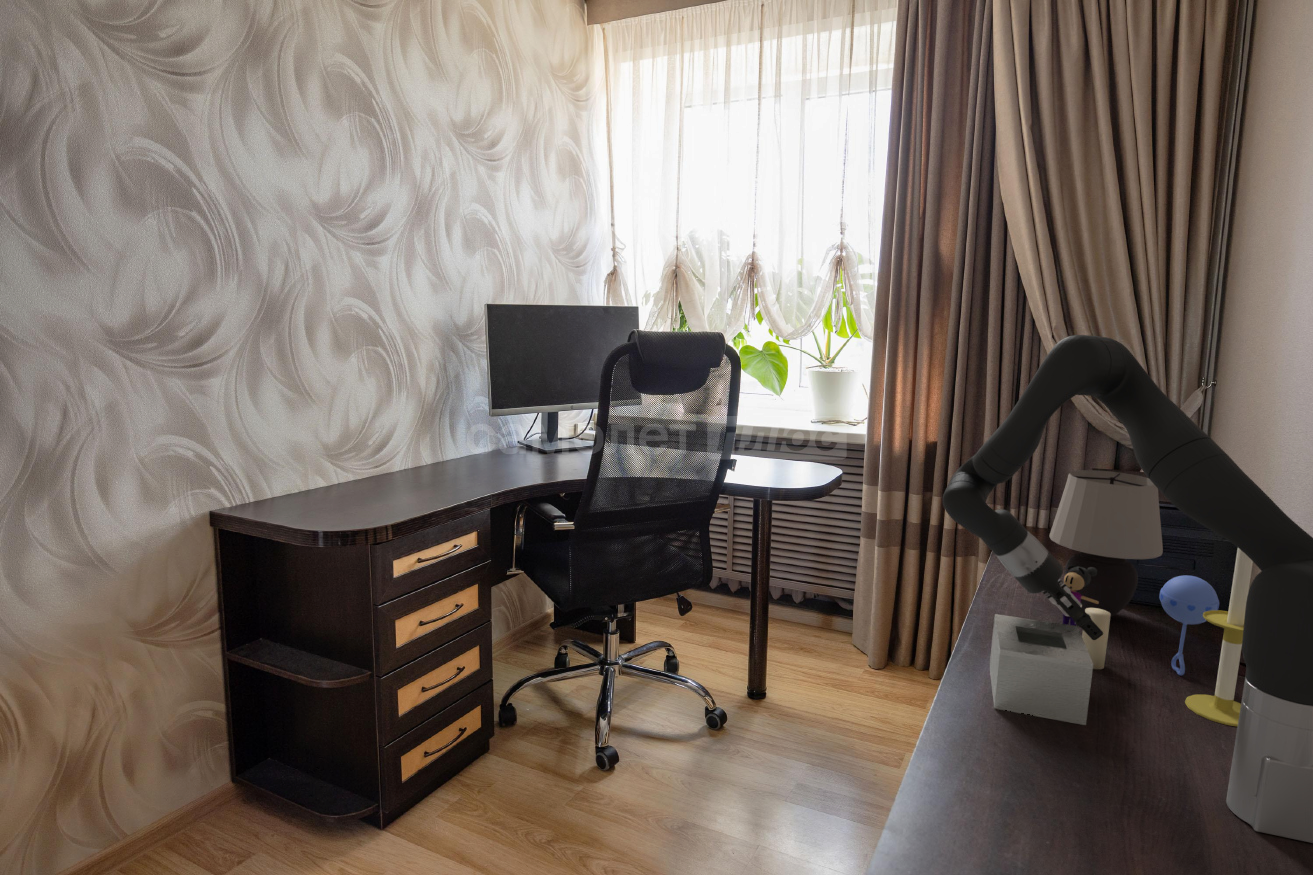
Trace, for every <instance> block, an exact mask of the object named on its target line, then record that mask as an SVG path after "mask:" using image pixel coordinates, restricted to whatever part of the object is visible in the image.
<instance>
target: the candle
mask: <svg viewBox="0 0 1313 875" xmlns="http://www.w3.org/2000/svg"><path fill="white" fill-rule="evenodd" d="M1253 563H1254V562H1253V561H1252V560H1251V559H1250V558H1249V557H1248V556H1247V555H1246V554H1245V553H1244V552H1243V551H1241V550H1240V549H1239V548H1238V547H1237V550H1236V556H1235V564H1234V572H1233V577H1232V585H1231V590H1230V592H1231V593H1230V596H1229V597H1230V599H1229V604H1228V605H1229V606H1228V611H1227V610H1219V609H1218V610H1210V611H1206V612H1204V614H1203V617H1204V619H1205V620H1206V622H1209V623H1210V624H1212V625H1214V626H1217V627H1220V628H1222V629H1223V637H1222V642H1221V650H1220V655H1219V665H1218V669H1217V677H1216V684H1215V690H1214V695H1210V694H1192V695H1189V696H1187V697H1186V699H1185V701H1184V703H1185V705H1186V706H1187V708H1188V709H1189V710H1191V711H1192V712H1194V713H1195V714H1196V715H1198V716H1200V717H1202V718H1204V719H1207V720H1209V721H1212V722H1215V723H1219V724H1222V725H1225V726H1231V727H1236V728H1237V727H1238V721H1239V714H1240V708H1241V703H1240V702H1238V701H1235V700H1234V699H1235V692H1236V686H1237V681H1238V673H1239V666H1240V659H1241V653H1242V640H1243V629H1244V619H1245V609H1246V601H1247V596H1248V592H1249V589H1250V585H1251V577H1252V570H1253Z"/></svg>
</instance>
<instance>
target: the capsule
mask: <svg viewBox="0 0 1313 875" xmlns="http://www.w3.org/2000/svg"><path fill="white" fill-rule="evenodd" d="M1085 612H1086V613H1088V614H1089V615H1090V616H1091V617H1090V618H1091V620H1092V621H1093V622H1094V623H1095V624H1096V625H1097V626H1098V627H1099V628H1100V629H1101V631H1102V632H1103V635H1102V636H1101V637H1099V638H1098V639H1096V640H1092V639H1091V638H1090V637H1089V636H1088V635H1087V633H1086V632H1085V631H1084V630H1083V629H1082V633H1081V636H1082V638H1083V641H1084V643H1085V645H1086V648H1087V650H1088V653H1089V655H1090V657H1091V660H1092V662H1093V670H1102V669H1104V668H1105V662H1106V656H1107V655H1106V653H1107V646H1108V639H1109V630H1110V623H1111V622H1110V621H1111V617H1110V616H1111V614H1110V613H1109V612H1108V611H1105V610H1102V609H1098V608H1086V609H1085Z"/></svg>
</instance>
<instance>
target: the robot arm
mask: <svg viewBox="0 0 1313 875" xmlns="http://www.w3.org/2000/svg"><path fill="white" fill-rule="evenodd" d="M1076 396H1091V397H1092V398H1095V399H1096V400H1098V402H1101V403H1102V404H1103V405H1104V406H1105V407H1106V408H1107V409H1108V410H1109V411H1110V412H1111V413H1112V414H1113V415H1114V416H1115V417H1116V418H1117V419H1118V420H1119V421H1120V423H1121V424H1122V425H1123V427H1124V428H1125V429H1126V432H1127V434H1128V436H1129V440H1130V443H1131V447H1132V450H1133V452H1134V455H1135V458H1136V461H1137V463H1138V465H1139V467H1140V469H1141V470H1142V472H1143V473H1144V474H1145V477H1146V478H1149V479H1150V480H1151V482H1152V483H1153V484H1154V485H1155V486H1156V487H1157V488H1158V491H1159V492H1161V494H1162V495H1163V496H1164V497H1165V498H1166V500H1168V501H1169V503H1171V504H1172V505H1173V506H1174V507H1175V508H1176V509H1177V510H1179V511H1180V512H1182V513H1183V514H1184V515H1186V516H1187V517H1188V518H1190V519H1192V520H1194V521H1195V522H1196V523H1199V524H1200V525H1202V526H1203V527H1205V528H1206V529H1208V530H1210V531H1212V532H1213V533H1215V534H1216V535H1218V536H1220V537H1222V538H1224V539H1225V540H1226V541H1228V542H1229V543H1231V544H1232V545H1234V546H1235V547H1236V548H1237V549H1238V548H1239V549H1240V550H1241V551H1243V552H1244V553H1245V554H1246V555H1247V556H1248V557H1249V558H1250V559H1251V560H1252V561H1253V563H1254V564H1255V566H1256V567H1257V568H1258V569H1259V570H1260V572H1259V573H1258V574H1256V576H1255V577H1254V579H1253V580H1252V582H1251V583H1250V585H1249V591H1248V596H1247V601H1246V609H1245V619H1244V629H1243V640H1242V648H1241V653H1242V658H1243V660H1244V662H1245V665H1246V670H1245V675H1244V676H1245V677H1244V684H1243V690H1242V697H1241V703H1240V704H1241V708H1240V714H1239V721H1238V727H1236V734H1235V741H1234V748H1233V753H1232V761H1231V765H1230V772H1229V779H1228V787H1227V793H1226V801H1225V802H1226V805H1227V807H1228V809H1229V810H1230V811H1231V812H1232V813H1233V814H1234V815H1236V816H1237V817H1238V818H1239V819H1240V820H1242V821H1244V822H1246V823H1247V824H1249V825H1250V826H1251V827H1252V829H1253V831H1255V832H1257V833H1264V834H1267V835H1268V834H1269V835H1272V836H1278V837H1282V838H1287V839H1293V840H1297V841H1301V842H1307V843H1311V844H1313V537H1312V535H1311V534H1309V533H1308V532H1307V531H1306V530H1305V529H1303V528H1302V527H1301V526H1300V525H1298V524H1297V523H1296V522H1295V521H1293V519H1292V518H1290V517H1289V516H1288V515H1287V514H1286V513H1285V512H1284V511H1283V510H1282V509H1281V507H1279V506H1278V505H1277V504H1276V503H1275V502H1274V501H1273V499H1272V498H1271V497H1270V496H1268V494H1266V493H1265V491H1264V490H1263V489H1262V488H1260V487H1259V486H1258V485H1257V483H1255V481H1254V480H1253V479H1251V477H1250V476H1248V475H1247V473H1246V472H1244V470H1243V469H1241V467H1239V465H1238V464H1237V463H1236V462H1235V461H1234V460H1233V458H1231V457H1230V456H1229V455H1228V453H1226V452H1225V450H1223V449H1222V448H1221V447H1220V446H1219V444H1218V443H1216V441H1215V440H1213V438H1211V437H1210V436H1209V435H1208V434H1207V433H1206V432H1205V431H1204V430H1203V429H1202V428H1201V427H1199V426H1198V425H1197V424H1196V423H1195V422H1194V421H1193V420H1192V419H1191V418H1190V416H1188V415H1187V414H1186V413H1185V412H1184V411H1183V410H1182V409H1181V408H1180V407H1179V406H1178V405H1177V404H1176V403H1175V402H1173V400H1172V399H1171V398H1169V397H1168V396H1167V395H1166V394H1165V393H1164V392H1163V390H1162V389H1160V387H1159V386H1158V385H1157V384H1156V382H1155V381H1154V380H1153V379H1152V377H1151V376H1150V375H1149V373H1147V371H1146V370H1145V369H1144V367H1143V366H1142V365H1141V364H1140V362H1139V361H1138V359H1137V358H1136V357H1135V355H1133V353H1132V351H1130V350H1129V349H1128V348H1127V347H1126V346H1125V345H1124V344H1123V343H1121V342H1120V341H1117V340H1115V338H1110V337H1105V336H1097V335H1089V334H1074V335H1069V336H1067V337H1065V338H1062V339H1061V340H1059V341H1058V342H1057V343H1055V344H1054V345H1053V347H1052V348H1051V350H1050V351H1049V352H1048V354H1047V355H1046V356H1045V357H1044V359H1043V361H1042V363H1041V364H1040V366H1039V367H1038V369H1037V371H1036V373H1035V374H1034V376H1033V377H1032V379H1031V380H1030V382H1029V384H1028V385H1027V387H1026V388H1025V390H1024V391H1023V393H1022V394H1021V396H1020V397H1019V399H1018V401H1017V402H1016V403H1015V405H1014V407H1013V408H1012V410H1011V412H1010V413H1009V414H1008V415H1007V417H1006V419H1005V420H1004V421H1003V422H1002V423H1001V424H1000V425H999V427H998V428H997V429H996V430H995V431H994V432H993V433H992V435H991V436H989V437H988V439H987V440H986V441H985V442H984V443H983V444H982V446H981V447H979V449H978V450H977V452H976V453H975V454H974V455H973V456H971V457H970V458H969V459H968V460H967V461H965V462H964V463H963V464H962V465H961V466H960V467H959V468H958V469H957V470H956V471H955V472H954V473H953V475H952V477H951V478H950V479H949V482H948V484H947V486H946V488H945V490H944V493H943V494H942V506H943V508H944V510H945V512H946V513H947V514H948V516H949V517H950V518H951V519H952V520H953V521H954V522H956V523H957V524H959V526H961V527H962V528H964V529H965V530H967V531H968V532H969V533H971V534H973V535H975V536H976V537H978V538H980V539H981V540H982V542H983V544H985V545H986V546H987V547H988V548H989V550H991V552H992V553H993V554H994V555H995V556H996V558H997V559H998V560H999V561H1000V563H1001V564H1002V565H1003V567H1004V568H1005V569H1006V570H1007V571H1008V572H1009V573H1010V575H1011V576H1012V577H1013V578H1014V579H1015V580H1016V581H1017V582H1018V583H1019V584H1020V585H1021V586H1022V587H1023V588H1024V589H1025V591H1026V592H1027V593H1029V594H1032V595H1033V594H1035V595H1036V594H1039V593H1042V594H1043V595H1044V596H1045V598H1047V600H1048V601H1049V602H1050V603H1051V604H1052V605H1055V607H1057V608H1058V609H1059V611H1061V613H1062V615H1063V614H1064V615H1065V616H1070V617H1071V618H1072V619H1073V620H1074V621H1075V624H1076V626H1078V628H1081V629H1082V631H1083V630H1084V631H1085V632H1086V633H1087V635H1088V636H1089V637H1090V638H1091V639H1092V640H1096V639H1098V638H1099V637H1101V636H1102V635H1103V632H1102V631H1101V629H1100V628H1099V627H1098V626H1097V625H1096V624H1095V623H1094V622H1093V621H1092V620H1091V618H1090V617H1091V616H1090V615H1089V614H1088V613H1086V612H1085V611H1084V610H1083V609H1082V608H1081V607H1082V604H1081V603H1080V602H1079V601H1078V600H1077V598H1076V597H1075V596H1074V595H1073V594H1072V593H1071V590H1070V589H1069V588H1068V587H1067V586H1066V585H1065V584H1064V581H1062V579H1061V578H1062V576H1063V574H1064V567H1063V565H1061V563H1060V562H1059V561H1058V560H1057V559H1056V558H1055V556H1054V555H1053V554H1051V552H1050V551H1049V550H1048V549H1047V548H1046V547H1045V546H1044V545H1043V544H1042V542H1041V541H1040V540H1039V539H1037V537H1035V536H1034V535H1033V534H1032V533H1030V532H1029V531H1028V529H1026V527H1025V526H1024V525H1023V524H1022V523H1021V522H1020V521H1019V520H1018V519H1017V518H1016V517H1015V516H1014V515H1013V514H1012V513H1011V512H1010V511H1009V510H1007V509H1004V508H1003V509H1002V508H1001V509H996V510H994V509H993V508H992V507H991V506H990V505H989V504H988V503H987V499H988V498H989V496H990V494H991V492H993V490H994V489H995V488H996V487H997V486H998V485H999V484H1003V483H1005V482H1007V481H1008V480H1010V479H1011V478H1012V477H1013V476H1014V475H1015V474H1016V473H1017V472H1018V471H1019V470H1020V469H1021V468H1022V467H1023V466H1024V465H1025V464H1026V463H1027V462H1028V461H1029V460H1030V459H1031V457H1032V456H1033V454H1034V453H1035V452H1036V450H1037V448H1038V446H1039V445H1040V443H1041V440H1042V438H1043V434H1044V430H1045V428H1046V425H1047V423H1048V422H1049V420H1050V419H1051V417H1052V416H1053V415H1054V413H1056V412H1057V411H1058V410H1059V409H1060V408H1061V407H1062V406H1063V405H1064V404H1065V403H1068V402H1069V401H1070V400H1071V399H1072V398H1074V397H1076Z"/></svg>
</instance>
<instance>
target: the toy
mask: <svg viewBox="0 0 1313 875" xmlns="http://www.w3.org/2000/svg"><path fill="white" fill-rule="evenodd" d="M1070 568H1072V569H1071V570H1070V571H1069V573H1067V574H1066V575H1064V578H1063V583H1064V584H1065V585H1066V586H1067V587H1068V588H1069V589H1071V593H1072V594H1073V595H1074V596H1075V597H1076V598H1077V600H1078V601H1079V602H1081V599H1084V600H1087V601H1090V602H1093V603H1096V604H1098V603H1099V602H1098V601H1096V600H1093V599H1090V598H1087V597H1085V596H1082V595H1081V594H1080V593H1078V592H1077V591H1075V590H1080V589H1082V588H1083V587H1085V586H1087V585H1088V584H1089V583H1090V581H1091V576H1092V577H1093V576H1096V575H1097V570H1096V569H1095V568H1094V567H1089V568H1088V569H1087V570H1086V569H1085V568H1083V567H1075V566H1074V565H1071V566H1069V567H1068V570H1069V569H1070ZM1061 624H1067V625H1074V626H1077V625H1076V624H1075V621H1074V620H1073V619H1072V618H1071V617H1070V616H1065V615H1064V614H1063V613H1062V623H1061Z"/></svg>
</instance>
